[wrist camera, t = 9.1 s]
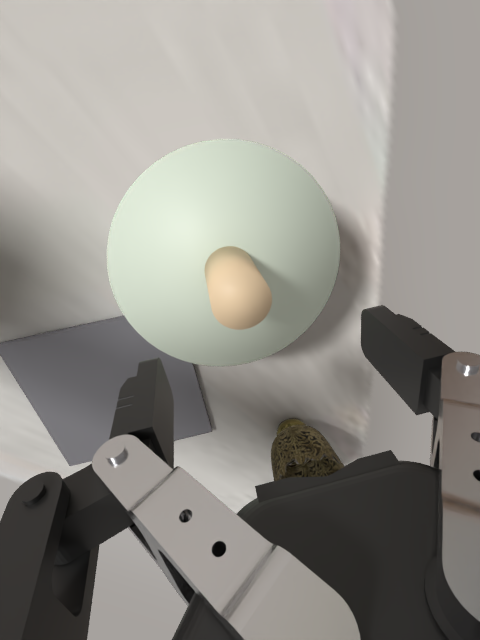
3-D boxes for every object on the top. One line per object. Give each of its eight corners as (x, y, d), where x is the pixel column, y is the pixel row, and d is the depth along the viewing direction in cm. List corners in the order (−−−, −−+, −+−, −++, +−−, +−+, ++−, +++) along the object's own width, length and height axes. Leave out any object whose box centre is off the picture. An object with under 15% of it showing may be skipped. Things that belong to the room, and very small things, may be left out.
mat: (-2, 343, 30) (-5, 346, 29) (175, 304, 31) (175, 307, 30) (71, 461, 38) (69, 466, 37) (211, 427, 39) (212, 431, 38)
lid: (70, 168, 19) (25, 178, 13) (327, 115, 20) (384, 105, 14) (151, 376, 26) (143, 438, 21) (336, 332, 27) (376, 380, 21)
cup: (281, 458, 43) (301, 519, 36) (247, 428, 40) (261, 489, 33) (330, 426, 42) (360, 483, 35) (298, 392, 38) (325, 448, 31)
